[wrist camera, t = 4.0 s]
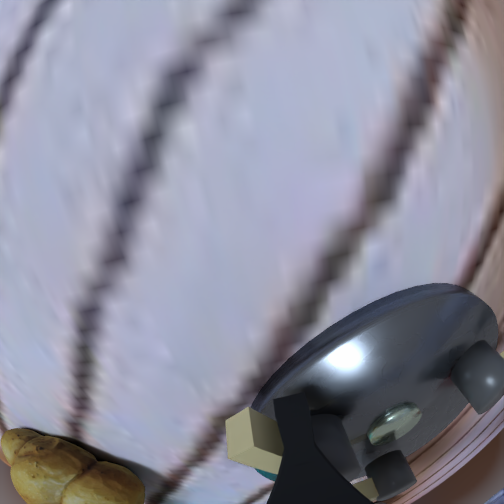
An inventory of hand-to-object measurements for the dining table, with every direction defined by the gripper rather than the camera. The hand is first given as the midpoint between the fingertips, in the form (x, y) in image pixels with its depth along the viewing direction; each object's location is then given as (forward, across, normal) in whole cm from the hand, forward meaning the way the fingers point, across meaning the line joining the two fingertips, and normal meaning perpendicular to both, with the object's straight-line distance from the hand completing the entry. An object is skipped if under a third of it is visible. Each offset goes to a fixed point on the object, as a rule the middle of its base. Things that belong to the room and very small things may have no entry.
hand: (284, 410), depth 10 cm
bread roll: (+2, +18, +7) cm, 19 cm away
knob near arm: (+1, -13, +4) cm, 14 cm away
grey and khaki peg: (+1, 0, +2) cm, 2 cm away
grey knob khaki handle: (+1, -4, +13) cm, 13 cm away
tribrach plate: (+3, -6, +7) cm, 9 cm away
